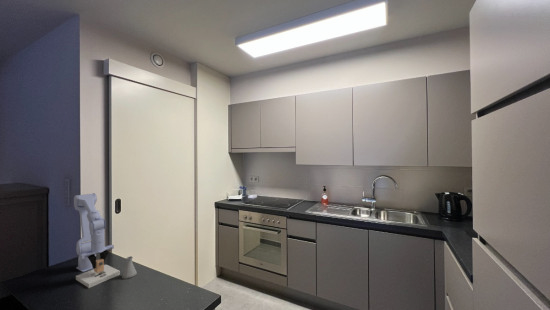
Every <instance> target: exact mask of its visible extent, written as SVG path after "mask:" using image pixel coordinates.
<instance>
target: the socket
mask: <svg viewBox="0 0 550 310" xmlns="http://www.w3.org/2000/svg"><path fill="white" fill-rule="evenodd" d="M119 275H121V271H120V270H119V269H117V268H115V267H112V266H110V265H108V264H104V271H101V272H99V273H96V272H95V271H94V268H92V269H90V270H87V271H84V272H82V273H80V274H77V275H75V280H76V281H77V282H79V283H81V284H82V285H83V286H85V287H86V288H88V289H90V288H92V287H95V286H97V285H99V284H101V283H104V282H106V281H108V280H111V279H113V278H115V277H118V276H119Z"/></svg>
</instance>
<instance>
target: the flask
mask: <svg viewBox="0 0 550 310" xmlns="http://www.w3.org/2000/svg"><path fill="white" fill-rule="evenodd" d="M125 260H126V262H125V267H124V270H123V271H122V275H121V279H124V280H127V279H131V278H134V277H135V276H137V275H138V273H137V270H136V268H135V264H134V263H133V256H127V257H125Z"/></svg>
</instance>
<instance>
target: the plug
mask: <svg viewBox="0 0 550 310" xmlns="http://www.w3.org/2000/svg"><path fill="white" fill-rule="evenodd" d="M104 265H105V261H104V259H102V258H100V257H99V258H96V268H95V269H94V268H93V269H94V271H95V272H96V273H99V272H101V271H104Z"/></svg>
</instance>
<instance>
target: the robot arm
mask: <svg viewBox="0 0 550 310" xmlns="http://www.w3.org/2000/svg"><path fill="white" fill-rule="evenodd" d="M97 200H98V197H97V194H96V193H94V192H93V193H86V194H79V195H77V194H76V195H74V197H73V206H74V210H76V211H78V213H79V217H80V219H79V220H80V227H81V229H80V230H81V238H80V239H78V241H77V242H76V246H75V247H76V248H75V250H76V254H77V255H78V260H77V261H78V263H77V266H76V269H77V270H78V271H80V272H82V273H85V272H88V271H90V270H93V269H95V268H96V259H97V254H99V258H102V259H104V262H106V259H107V256H108V255H109V250H113V249H114V248H115V245H114V244H110V245H105V229H106V227H107V222H106V221H107V220H105V218H104V217H102V215H101V213H100V210H97V209H96V206H95V205H96V202H98V201H97Z"/></svg>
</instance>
